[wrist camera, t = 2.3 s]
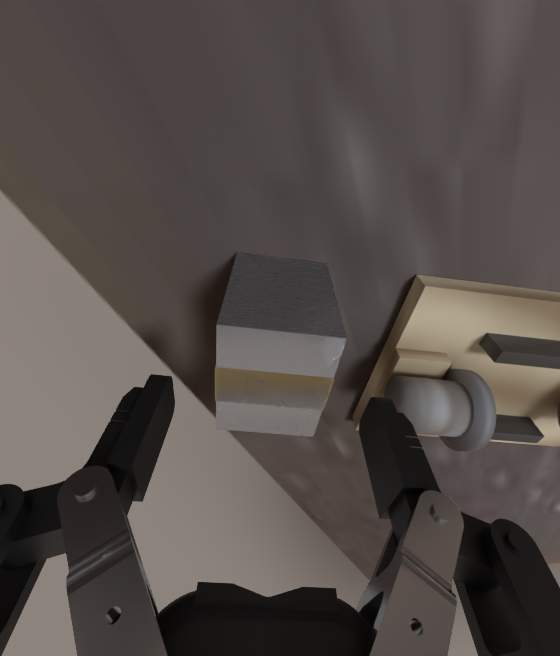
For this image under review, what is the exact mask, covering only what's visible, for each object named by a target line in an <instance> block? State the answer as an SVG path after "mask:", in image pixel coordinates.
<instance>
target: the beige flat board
mask: <svg viewBox="0 0 560 656" xmlns="http://www.w3.org/2000/svg"><path fill="white" fill-rule="evenodd" d="M371 397H381V398H390V399H392V401H393V403H394V405H395V408H396V410H397V412H399V413H404V415H405V416H406V417H407V418H408V419H409V421H410V422H411V423H412V424H413V427H414V429H415V431H416V434H417V435H422V436H435V437H440V438H441V440H442V441H443V442H444V443H445V444H446V445H447V446H448V447H449V448H451V449H453V450H456V451H463V452H476V451H479V450H481V449H483V448H484V447H485V446H486V445H487V444H488V443H489V441H496V442H509V443H521V444H533V445H546V446H560V292H553V291H545V290H537V289H529V288H521V287H513V286H505V285H496V284H488V283H480V282H472V281H464V280H456V279H448V278H440V277H432V276H424V275H416V277H415V279H414V282H413V284H412V286H411V288H410V290H409V293H408V295H407V297H406V299H405V301H404V304H403V306H402V308H401V310H400V312H399V315H398V317H397V319H396V321H395V324H394V326H393V328H392V330H391V332H390V335H389V337H388V339H387V341H386V343H385V346H384V348H383V350H382V352H381V354H380V357H379V359H378V361H377V363H376V365H375V368H374V370H373V372H372V374H371V376H370V379H369V381H368V383H367V385H366V388H365V390H364V392H363V394H362V396H361V399H360V401H359V403H358V405H357V407H356V410H355V412H354V414H353V421H354V425H355V429H356V430H359V422H360V419H361V417H362V414H363V412H364V410H365V408H366V406H367V404H368V402H369V400H370V398H371Z"/></svg>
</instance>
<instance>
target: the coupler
mask: <svg viewBox="0 0 560 656" xmlns="http://www.w3.org/2000/svg"><path fill="white" fill-rule="evenodd" d="M346 340H347V336H346V332H345V329H344V325H343V321H342V318H341V314H340V310H339V307H338V303H337V299H336V296H335V292H334V289H333V285H332V281H331V278H330V274H329V270H328V267H327V263H323V262H315V261H307V260H299V259H290V258H282V257H274V256H266V255H258V254H250V253H242V252H237V254H236V258H235V261H234V265H233V268H232V272H231V275H230V279H229V282H228V286H227V289H226V293H225V296H224V300H223V303H222V307H221V310H220V314H219V317H218V321H217V324H216V365H215V401H216V429H223V430H235V431H248V432H261V433H273V434H286V435H299V436H311V437H313V436H314V433H315V430H316V427H317V424H318V421H319V418H320V415H321V412H322V410H324V407H325V404H326V402H327V399H328V396H329V393H330V390H331V387H332V384H333V382H334V379H335V377H334V375H335V372H336V369H337V366H338V363H339V361H340V358H341V355H342V352H343V349H344V346H345V343H346Z"/></svg>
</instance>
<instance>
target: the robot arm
mask: <svg viewBox="0 0 560 656" xmlns="http://www.w3.org/2000/svg"><path fill="white" fill-rule="evenodd" d="M174 406H175V399H174V390H173V381H172V377H171V376H162V375H150V376H149V378H148V380H147V382H146V384H145V386H144V388H140V387H134V388H133V389H132V390H131V391H130V392H128V393H127V394H126V395H125V396H124V397H123V398H122V400H121V402H120V403H119V405H118V407H117V409H116V412H115V413H114V414H113V416H112V418H111V421H110V422H109V423H108V425H107V427H106V429H105V431H104V433H103V434H102V436H101V438H100V440H99V442H98V444H97V445H96V447H95V449H94V451H93V453H92V454H91V456H90V458H89V460H88V462H87V463H86V464H85V466H84V467H83V468H82V469H80V470H78V471H76V472H75V473H74V474H72V475H71V476H70V477H69V478H68V479H67V480H65V481H63V482H60V483H58V484H54V485H50V486H46V487H41V488H37V489H33V490H28V491H24V492H23V490H22V489H21V488H20V487H18V486H16V485H13V484H3V485H0V656H1V655H2V653H3V651H4V649H5V647H6V645H7V642H8V640H9V638H10V636H11V634H12V632H13V630H14V628H15V625H16V623H17V621H18V619H19V617H20V615H21V612H22V610H23V608H24V606H25V604H26V602H27V600H28V598H29V595H30V593H31V591H32V589H33V587H34V585H35V583H36V580H37V578H38V576H39V574H40V572H41V570H42V568H43V565H44V563H45V561H46V559H47V558H51V557H54V556H57V555H61V554H64V553H66V555H67V561H68V567H69V574H68V576H67V580H66V582H67V583H66V584H67V595H68V600H69V607H70V613H71V619H72V625H73V631H74V638H75V643H76V650H77V656H447V655H448V650H449V645H450V639H451V634H452V628H453V624H454V618H455V613H456V605H457V600H456V596H455V595H454V594H453V593H452V590H451V586H452V581H453V579H454V582H455V584H456V588H457V591H458V594H459V597H460V600H461V603H462V606H463V609H464V613H465V616H466V619H467V622H468V625H469V628H470V631H471V634H472V637H473V641H474V644H475V647H476V650H477V653H478V656H560V588H559V586H558V584H557V582H556V580H555V578H554V576H553V575H552V573H551V571H550V569H549V567H548V565H547V563H546V561H545V560H544V558H543V556H542V554H541V552H540V550H539V548H538V547H537V545H536V543H535V542H534V540H533V539H532V538H531V536H530V535H529V534H528V533H527V532H526V531H525V530H524V529H522V528H521V527H520V526H518V525H517V524H515V523H514V522H512V521H509V520H506V519H497V520H495V521H494V522H492V523H491V524H489V523H486V522H484V521H482V520H479V519H477V518H474V517H472V516H469V515H467V514H465V513H463V512H461V511H459V509H458V507H457V506H456V505H455V504H454V502H453V501H452V500H451V499H449V498H448V497H447V496H445V495H444V494H442V493H441V491H440V489H439V487H438V485H437V482H436V480H435V477H434V475H433V473H432V470H431V468H430V465H429V463H428V460H427V458H426V456H425V453H424V451H423V450H422V446H421V444H420V441H419V439H418V438H417V437H418V436H417V434H416V431H415V429H414V427H413V424H412V423H411V422H410V421H409V419H408V418H407V417H406V416H405V415H404V413H399V412H397V410H396V408H395V405H394V403H393V401H392V399H390V398H381V397H371V398H370V400H369V402H368V404H367V406H366V408H365V410H364V412H363V414H362V417H361V419H360V422H359V434H360V438H361V442H362V447H363V451H364V455H365V459H366V463H367V468H368V472H369V476H370V480H371V484H372V489H373V493H374V497H375V501H376V505H377V510H378V514H379V518H382V519H390V520H391V524H392V529H391V531H390V533H389V535H388V538H387V540H386V543H385V545H384V548H383V550H382V553H381V555H380V558H379V560H378V563H377V565H376V567H375V570H374V572H373V575H372V577H371V579H370V581H369V583H368V585H367V587H366V588H365V590H364V592H363V593H362V596H361V597H360V600H359V602H358V604H357V607H356V609H354V608H353V607H351V606H350V605H349V604H347V603H346V602H344V601H342V600H341V599H338V598H337V594H336V588H316V587H301V588H298V589H294V590H291V591H288V592H285V593H282V594H278V595H275V596H272V597H265V596H262V595H260V594H257V593H255V592H252V591H250V590H247V589H245V588H242V587H240V586H237V585H235V584H230V583H209V582H198V585H197V591H194V592H190V593H188V594H186V595H183V596H181V597H179V598H178V599H176V600H174V601H173V602H171V603H170V604H169V605H168V606H166V607H165V608H164V609H163V610H162V611H161V612H160V613H159V612H158V609H157V607H156V603H155V600H154V597H153V594H152V591H151V588H150V585H149V582H148V579H147V576H146V573H145V570H144V567H143V564H142V561H141V558H140V555H139V551H138V548H137V545H136V542H135V539H134V536H133V533H132V530H131V526H130V523H129V520H128V517H127V514H128V512H129V509H130V507H131V504H132V501H141V502H142V501H143V499H144V496H145V493H146V490H147V487H148V484H149V482H150V479H151V476H152V473H153V470H154V467H155V465H156V462H157V459H158V456H159V453H160V451H161V448H162V445H163V442H164V439H165V436H166V433H167V431H168V428H169V425H170V422H171V419H172V416H173V412H174Z"/></svg>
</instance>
